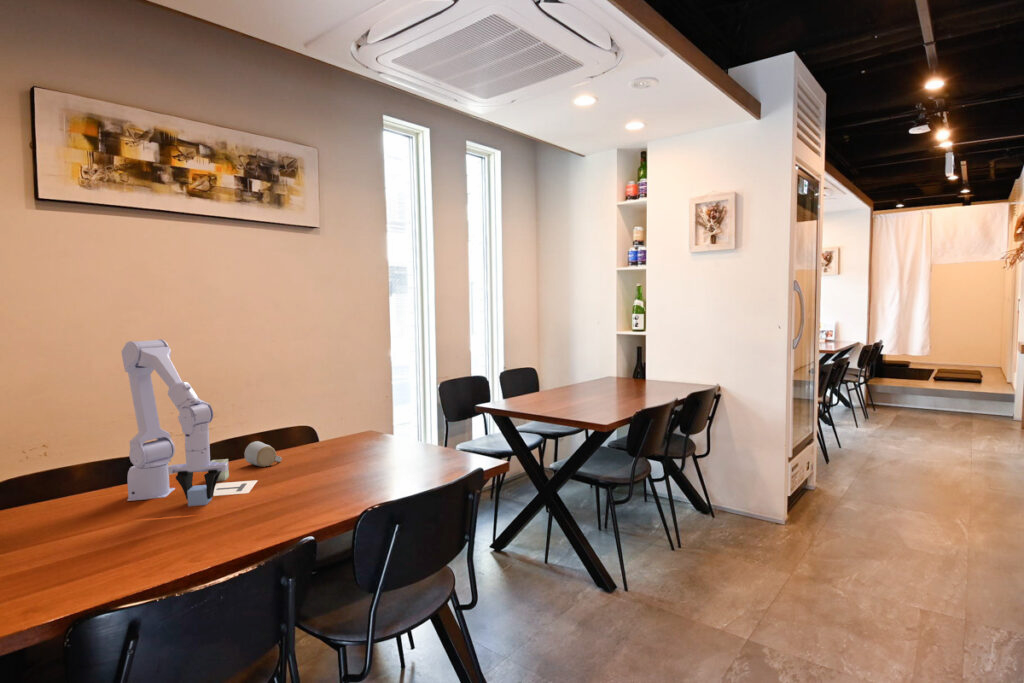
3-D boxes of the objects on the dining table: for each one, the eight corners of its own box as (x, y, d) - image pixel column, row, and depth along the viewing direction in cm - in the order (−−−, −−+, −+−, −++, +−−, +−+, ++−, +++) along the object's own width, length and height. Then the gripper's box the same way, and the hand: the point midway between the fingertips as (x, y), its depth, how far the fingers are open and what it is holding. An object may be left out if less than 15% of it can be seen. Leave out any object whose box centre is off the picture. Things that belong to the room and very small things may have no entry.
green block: (209, 483, 169) (208, 463, 168) (213, 479, 173) (212, 460, 173) (225, 482, 170) (224, 462, 170) (229, 477, 174) (228, 458, 174)
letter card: (202, 498, 156) (202, 496, 156) (215, 484, 167) (214, 483, 167) (248, 494, 158) (248, 493, 158) (257, 481, 170) (257, 480, 170)
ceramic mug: (257, 470, 182) (257, 446, 182) (244, 466, 187) (243, 443, 186) (287, 463, 191) (286, 440, 190) (273, 459, 195) (273, 437, 195)
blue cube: (188, 507, 148) (187, 491, 148) (194, 501, 153) (193, 485, 152) (206, 506, 149) (205, 489, 149) (212, 500, 154) (211, 484, 153)
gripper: (231, 443, 155) (233, 491, 156) (176, 446, 153) (178, 494, 154) (221, 450, 148) (223, 500, 149) (163, 452, 146) (165, 503, 147)
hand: (200, 498), depth 151 cm, fingers closed on blue cube, 5 cm apart
